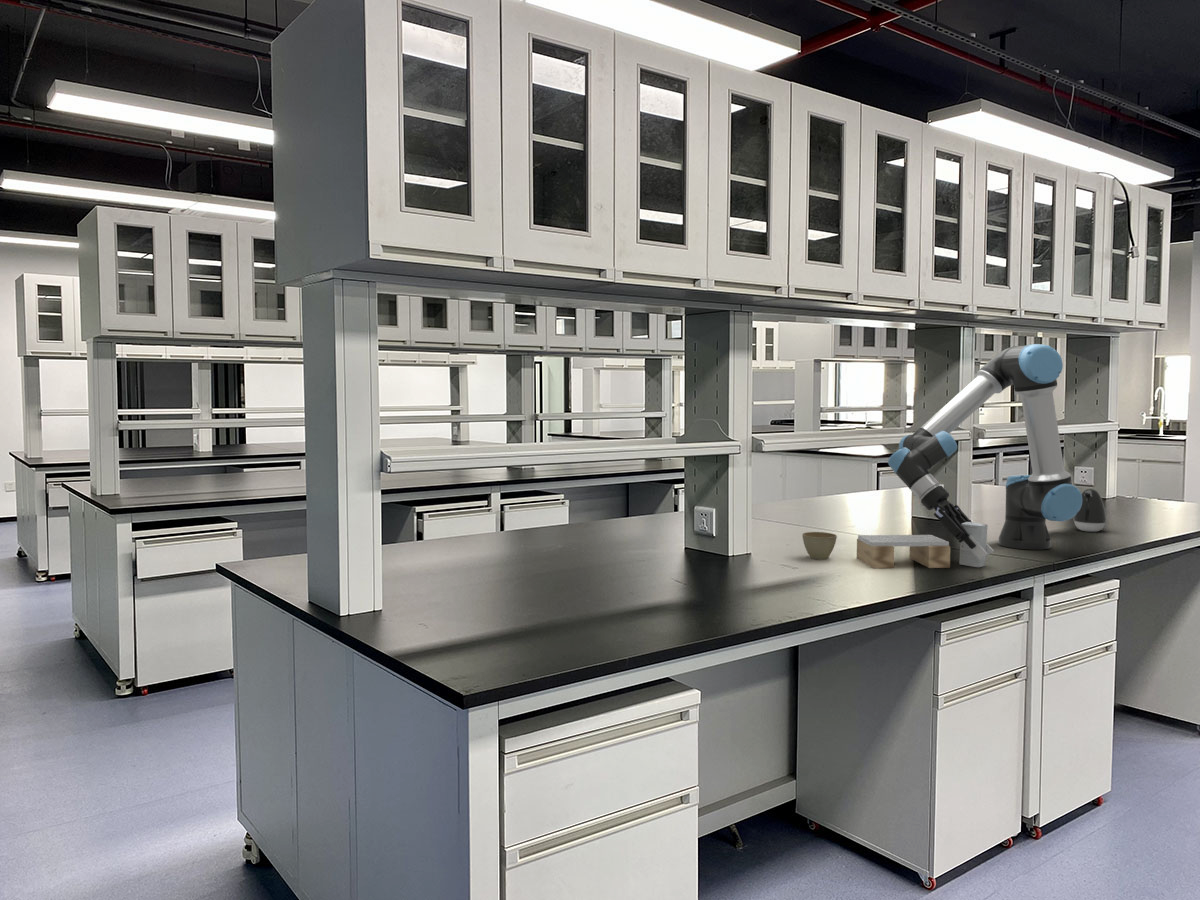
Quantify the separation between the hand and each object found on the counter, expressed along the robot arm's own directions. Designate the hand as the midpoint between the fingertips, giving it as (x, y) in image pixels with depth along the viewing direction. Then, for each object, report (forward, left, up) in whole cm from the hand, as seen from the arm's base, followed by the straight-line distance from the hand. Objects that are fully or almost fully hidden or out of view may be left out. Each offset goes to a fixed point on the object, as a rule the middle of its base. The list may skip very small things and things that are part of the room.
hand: (986, 555), depth 235 cm
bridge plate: (+22, -7, +3) cm, 23 cm away
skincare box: (+3, -3, -4) cm, 5 cm away
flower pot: (+44, -15, -4) cm, 46 cm away
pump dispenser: (-67, -62, -4) cm, 91 cm away
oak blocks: (+22, -7, -3) cm, 23 cm away
